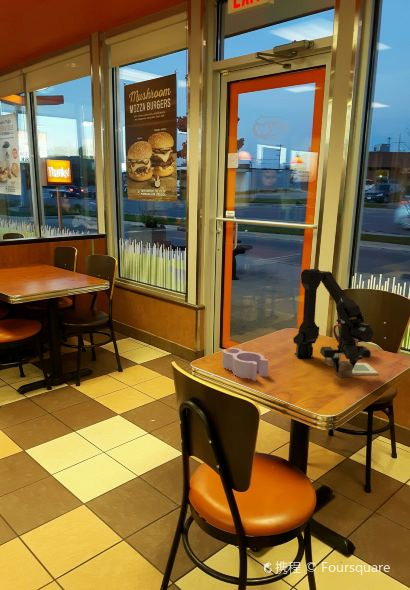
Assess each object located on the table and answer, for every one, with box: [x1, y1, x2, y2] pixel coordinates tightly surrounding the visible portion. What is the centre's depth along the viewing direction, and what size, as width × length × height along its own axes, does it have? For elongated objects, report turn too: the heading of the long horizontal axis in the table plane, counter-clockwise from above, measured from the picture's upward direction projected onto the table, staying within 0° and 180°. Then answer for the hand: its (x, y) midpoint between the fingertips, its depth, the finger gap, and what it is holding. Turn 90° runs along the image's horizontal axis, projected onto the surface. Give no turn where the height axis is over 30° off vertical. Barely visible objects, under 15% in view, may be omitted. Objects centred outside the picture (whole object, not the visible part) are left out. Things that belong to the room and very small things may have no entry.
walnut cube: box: [334, 360, 353, 378], centre depth 180 cm, size 5×5×5 cm
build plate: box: [352, 362, 379, 376], centre depth 187 cm, size 11×11×1 cm
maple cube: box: [324, 354, 342, 367], centre depth 193 cm, size 5×5×5 cm
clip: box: [221, 347, 269, 382], centre depth 182 cm, size 20×12×7 cm, turn 41°
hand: (343, 372), depth 180 cm, fingers closed on walnut cube, 5 cm apart
